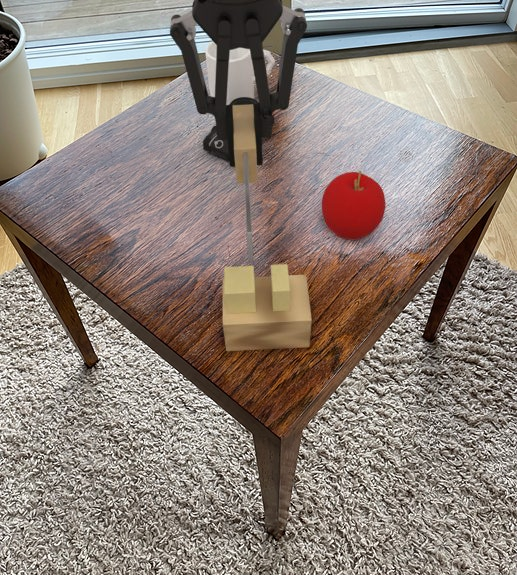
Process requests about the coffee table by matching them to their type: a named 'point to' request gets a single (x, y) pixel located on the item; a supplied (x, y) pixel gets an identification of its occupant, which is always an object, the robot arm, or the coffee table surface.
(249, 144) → the knife
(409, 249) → the coffee table surface
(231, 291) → the butter block
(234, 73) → the mug
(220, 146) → the film camera
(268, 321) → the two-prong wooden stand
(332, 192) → the fruit
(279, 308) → the butter slice
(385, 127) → the coffee table surface
